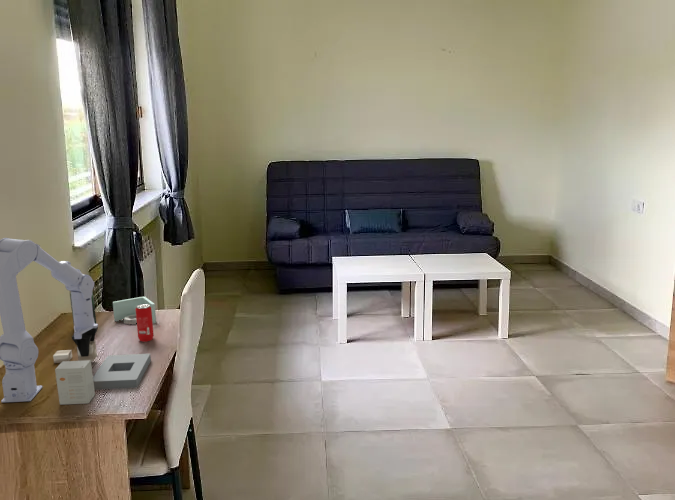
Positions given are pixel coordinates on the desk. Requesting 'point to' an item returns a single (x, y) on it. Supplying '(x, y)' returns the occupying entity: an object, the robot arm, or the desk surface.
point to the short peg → (62, 356)
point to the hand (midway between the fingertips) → (87, 353)
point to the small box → (75, 382)
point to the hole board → (121, 371)
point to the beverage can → (144, 322)
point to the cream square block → (91, 352)
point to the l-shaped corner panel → (131, 309)
